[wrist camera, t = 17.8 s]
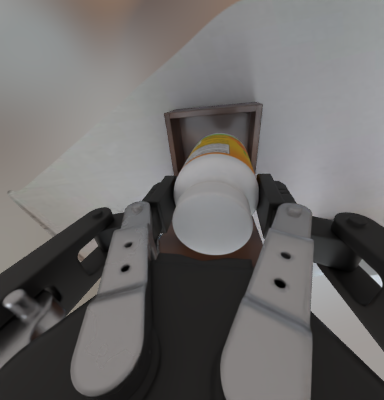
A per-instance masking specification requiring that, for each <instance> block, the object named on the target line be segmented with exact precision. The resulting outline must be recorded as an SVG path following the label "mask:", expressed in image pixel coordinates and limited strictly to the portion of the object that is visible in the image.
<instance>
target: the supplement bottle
mask: <svg viewBox="0 0 384 400" xmlns="http://www.w3.org/2000/svg"><path fill="white" fill-rule="evenodd" d="M174 201H175V205H176V208H175V211H174V213H173V218H172V224H173V229H174V232H175V234H176V235H177V237H178V238H179V240H180V241H181V242H182V243H183V244H185V245H186V246H187V247H189V248H190V249H192V250H194V251H197V252H200V253H203V254H208V255H223V254H228V253H232V252H234V251H236V250H238V249H240V248H241V247H242V246H244V245H245V244H246V243H247V241H248V240H249V239H250V237H251V234H252V230H253V220H252V215H253V213H254V212H255V210H256V208H257V205H258V202H259V187H258V182H257V179H256V176H255V173H254V171H253V168H252V165H251V162H250V159H249V156H248V153H247V151H246V149H245V147H244V145H243V144H242V143H241V142H240V141H239V140H238V139H237V138H235V137H234V136H232V135H229V134H224V133H216V134H211V135H208V136H206V137H205V138H203V139H202V140H200V141H199V142H198V143H197V145H196V146H195V147H194V149H193V150H192V152H191V154H190V156H189V157H188V159H187V161H186V162H185V164H184V166H183V168H182V169H181V171H180V173H179V175H178V177H177V179H176V182H175V185H174Z"/></svg>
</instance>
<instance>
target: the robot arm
mask: <svg viewBox="0 0 384 400" xmlns="http://www.w3.org/2000/svg"><path fill="white" fill-rule="evenodd" d="M176 179H177V176H165V177H164V179H163V180H162V181H161V182H159V183H157V184H156V185H154V186H153V187H152V189H151V190H150V191H149V192H148V194H147V195H146V196H145V198H144V199H143V200H142V201H139V202H135V203H132V204H130V205H129V206H128V207H126V209H125V212H124V213H119V214H112V212H111V210H110V209H109V208H106V207H104V208H98V209H95V210H93V211H91V212H89V213H88V214H86V215H85V216H83V217H82V218H80V219H79V220H78V221H76V222H75V223H73V224H72V225H70V226H69V227H67V228H66V229H65V230H63V231H62V232H60V233H59V234H57V235H56V236H54V237H53V238H52V239H50V240H49V241H47V242H46V243H44V244H43V245H42V246H40V247H39V248H37V249H36V250H34V251H33V252H31V253H30V254H29V255H27V256H26V257H24V258H23V259H21V260H20V261H18V262H17V263H15V264H14V265H13V266H11V267H10V268H8V269H7V270H5V271H4V272H2V273H1V274H0V400H384V381H383V380H382V379H381V378H380V377H379V376H378V375H377V374H376V373H375V372H373V371H372V370H371V369H370V368H369V367H368V366H367V365H366V364H365V363H364V362H363V361H362V360H361V359H360V358H359V357H358V356H357V355H356V354H355V353H354V352H353V351H352V350H351V349H350V348H349V347H347V346H346V345H345V344H344V343H343V342H342V341H341V340H340V339H339V338H338V337H337V336H336V335H335V334H334V333H333V332H332V331H331V330H330V329H329V328H327V326H326V325H325V324H324V323H323V322H321V321H320V320H319V319H318V318H317V317H316V316H315V315H314V314H313V313H312V312H311V311H310V309H311V290H312V271H313V262H314V263H317V265H318V267H319V268H320V269H321V271H322V272H323V273H324V275H325V276H326V277H327V278H328V280H329V281H330V282H331V284H332V285H333V286H334V288H335V289H336V290H337V292H338V293H339V294H340V295H341V297H342V298H343V299H344V301H345V302H346V303H347V304H348V306H349V307H350V308H351V310H352V311H353V312H354V313H355V315H356V316H357V317H358V319H359V320H360V321H361V323H362V324H363V325H364V326H365V328H366V329H367V330H368V332H369V333H370V334H371V336H372V337H373V338H374V339H375V341H376V342H377V343H378V345H379V346H380V347H381V349H382V350H383V351H384V227H382V226H381V225H379V224H378V223H376V222H375V221H373V220H371V219H369V218H367V217H365V216H362V215H359V214H355V213H339V214H337V215H336V216H335V218H334V220H328V219H323V218H318V217H314V216H312V212H311V210H310V209H308V208H307V207H305V206H303V205H300V204H297V203H296V202H295V200H294V198H293V197H292V195H291V194H290V192H289V191H288V189H287V187H286V186H285V185H284V184H283V183H281V182H280V181H274V180H273V178H272V176H271V174H258V175H257V182H258V187H259V202H258V205H257V208H256V210H257V214H258V218H259V222H260V226H261V230H262V234H263V238H264V239H265V241H264V244H263V246H262V249H261V252H260V255H259V258H258V260H257V263H256V266H255V268H253V265H252V259H239V258H221V259H213V260H206V261H200V260H197V259H194V258H191V257H187V256H184V255H181V254H171V253H160V241H159V237H158V236H159V234H160V233H167V231H168V229H169V226H170V224H171V222H172V218H173V213H174V211H175V208H176V205H175V201H174V185H175V182H176ZM93 238H94V239H95V241H96V242H97V244H98V247H97V248H96V249H95V250H94V251H93V252H92V253H90V254H89V255H88V256H87V257H86V258H85V259H84V260H83V261H82V262H81V263H80V262H79V260H78V257H77V256H78V253H79V251H80V250H81V249H82V248H83V247H84V246H85V245H86V244H87V243H89V242H90V241H91V240H92V239H93ZM362 259H363V260H364V261H365V262H366V263H367V264H368V265H369V266H370V267H371V268H372V269H373V270H375V271H376V272H377V273H378V275H379V276H380V278H381V280H382V287H381V286H380V285H379V284H378V283H377V282H376V281H375V280H374V279H373V278H372V277H371V276H370V275H369V274H368V273H367V272H366V271H365V270H364V269H362V268H361V267H360V266H359V263H360V262H361V260H362ZM101 276H102V277H101ZM100 277H101V281H100V285H99V288H98V292H97V295H95V296H94V297H93V298H91V299H90V300H88V301H87V302H86V303H84V304H83V305H82V306H80V307H79V308H77V309H76V310H75V311H73V312H72V313H70V314H69V315H68V316H66V315H67V314H68V313H69V312H70V311H71V310H72V309H73V308H74V306H75V305H76V304H77V303H78V302H79V301H80V300H81V299H82V297H83V296H84V295H85V294H86V293H87V292H88V291H89V290H90V288H91V287H92V286H93V285H94V284H95V283H96V282H97V281H98V279H99V278H100Z"/></svg>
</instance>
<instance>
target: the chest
mask: <svg viewBox="0 0 384 400" xmlns="http://www.w3.org/2000/svg"><path fill="white" fill-rule="evenodd" d="M262 106H263V104H261V103H258V102H249V103H239V104H229V105H218V106H208V107H198V108H187V109H177V110H173V111H170V112H167V113H164V116H165V122H166V128H167V135H168V141H169V147H170V153H171V159H172V166H173V172H174V176H177V177H178V175H179V173H180V171H181V169H182V168H183V166H184V164H185V162H186V161H187V159H188V157H189V156H190V154H191V152H192V150H193V149H194V147H195V146H196V145H197V143H198V142H199V141H200V140H202V139H203V138H205V137H206V136H208V135H211V134H216V133H224V134H229V135H232V136H234V137H235V138H237V139H238V140H239V141H240V142H241V143H242V144H243V145H244V147H245V149H246V151H247V153H248V156H249V159H250V162H251V165H252V168H253V171H254V173H255V170H256V161H257V152H258V143H259V134H260V125H261V115H262Z"/></svg>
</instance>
